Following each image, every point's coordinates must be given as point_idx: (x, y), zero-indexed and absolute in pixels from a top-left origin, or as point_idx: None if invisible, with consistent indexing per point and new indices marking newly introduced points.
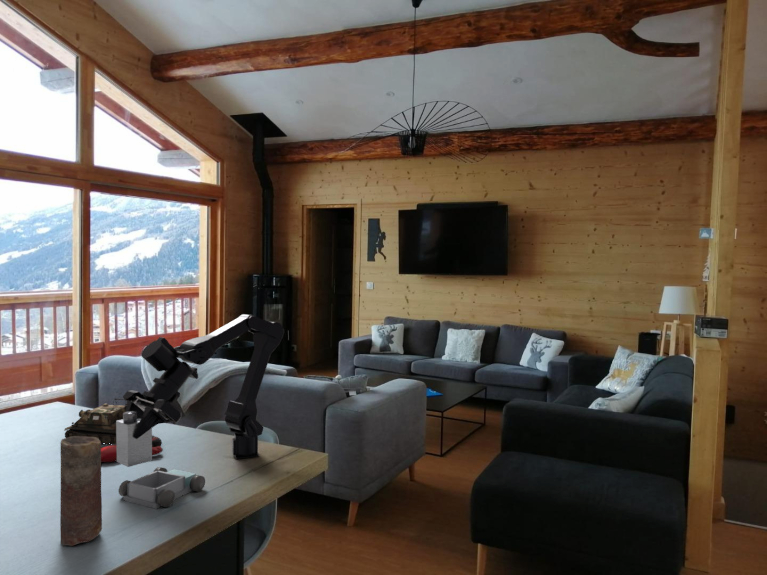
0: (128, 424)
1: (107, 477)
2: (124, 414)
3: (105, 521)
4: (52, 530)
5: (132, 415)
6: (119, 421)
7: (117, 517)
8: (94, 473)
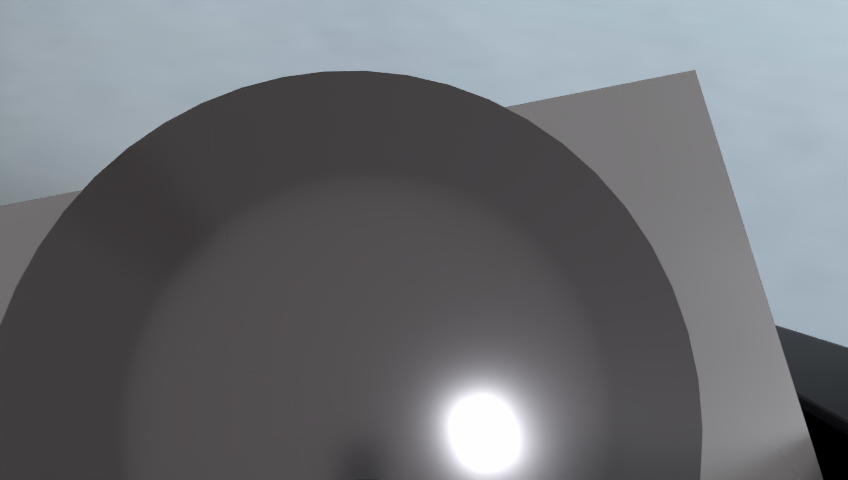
0: (23, 251)
1: (837, 339)
2: (235, 99)
3: (3, 125)
4: None
5: (14, 432)
6: (548, 126)
7: (8, 198)
8: None
